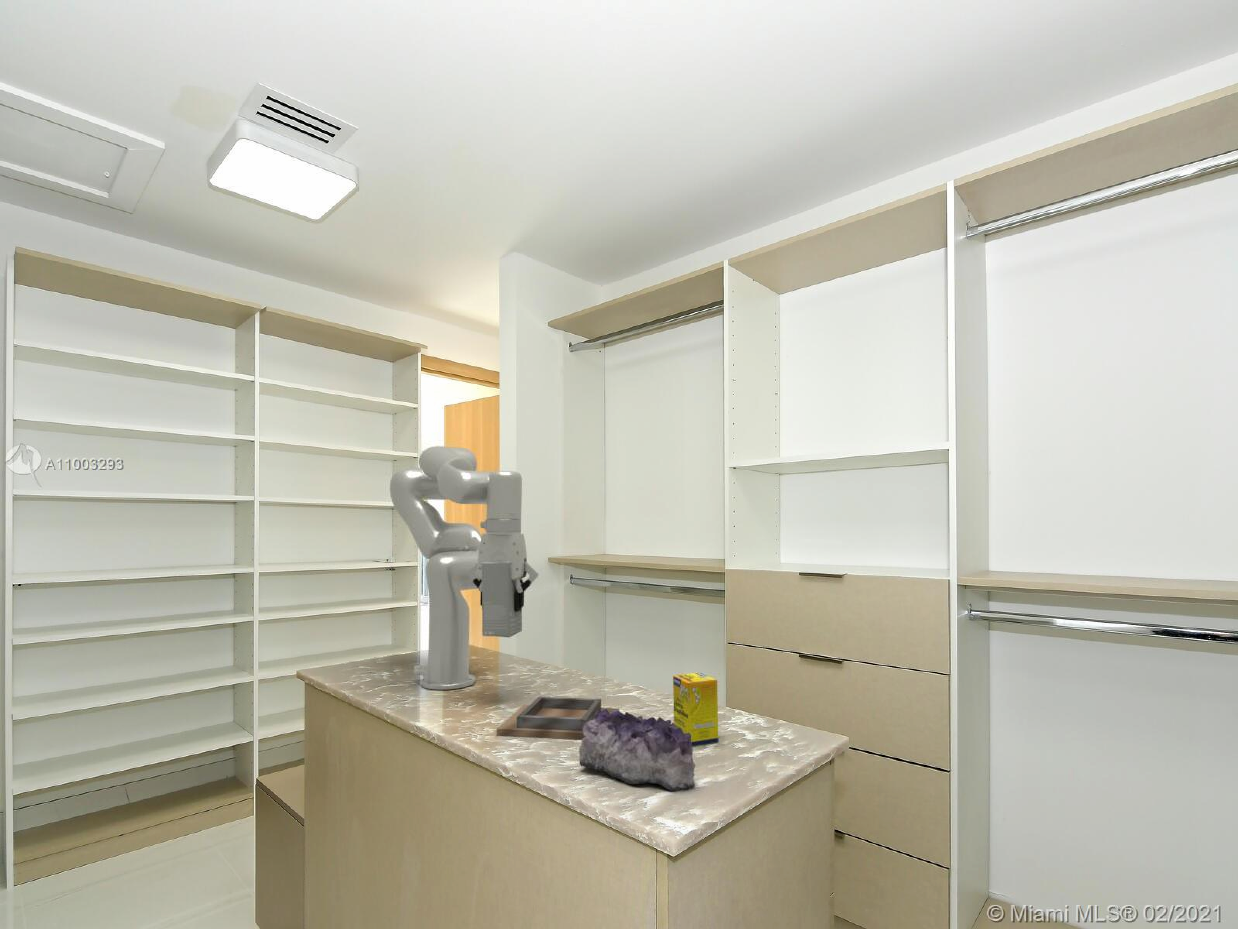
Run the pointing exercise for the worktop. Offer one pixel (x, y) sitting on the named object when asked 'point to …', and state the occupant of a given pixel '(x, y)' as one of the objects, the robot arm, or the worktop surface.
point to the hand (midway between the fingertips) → (502, 609)
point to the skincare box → (499, 601)
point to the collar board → (552, 718)
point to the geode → (638, 750)
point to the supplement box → (696, 707)
